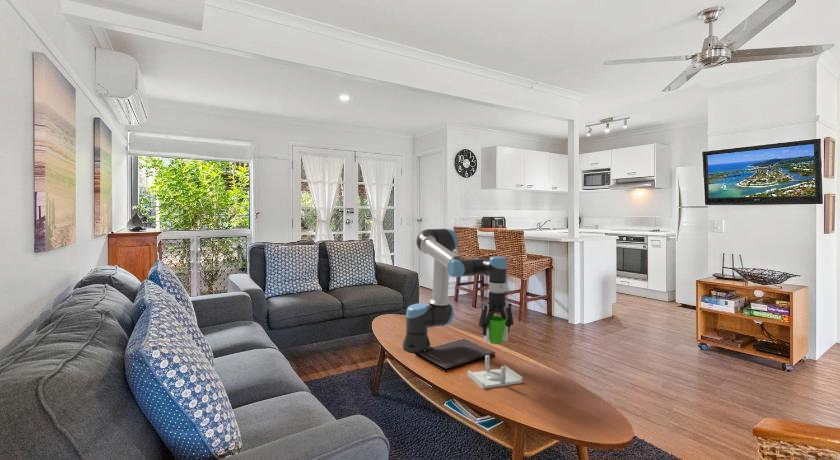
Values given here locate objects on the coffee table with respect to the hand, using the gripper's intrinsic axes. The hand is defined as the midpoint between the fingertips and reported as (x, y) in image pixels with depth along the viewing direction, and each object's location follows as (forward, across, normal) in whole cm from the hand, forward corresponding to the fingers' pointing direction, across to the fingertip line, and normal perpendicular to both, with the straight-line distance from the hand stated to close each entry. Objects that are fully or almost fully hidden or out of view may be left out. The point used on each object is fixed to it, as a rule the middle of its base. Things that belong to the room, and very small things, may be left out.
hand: (495, 341), depth 181 cm
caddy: (+17, 0, 0) cm, 17 cm away
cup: (+1, 0, 0) cm, 1 cm away
